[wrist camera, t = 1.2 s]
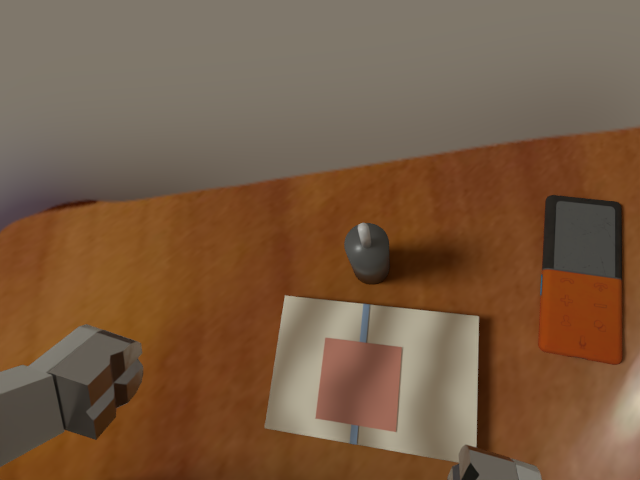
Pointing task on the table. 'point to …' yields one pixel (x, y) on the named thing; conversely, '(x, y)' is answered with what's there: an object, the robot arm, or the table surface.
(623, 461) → the table surface
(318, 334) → the cream flat block
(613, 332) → the phone
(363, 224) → the grey cylinder with rod
